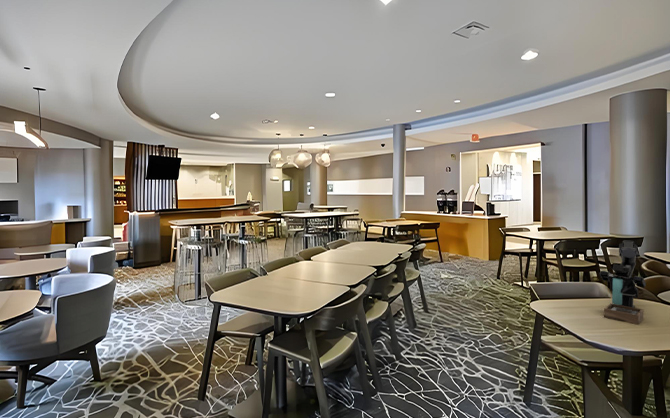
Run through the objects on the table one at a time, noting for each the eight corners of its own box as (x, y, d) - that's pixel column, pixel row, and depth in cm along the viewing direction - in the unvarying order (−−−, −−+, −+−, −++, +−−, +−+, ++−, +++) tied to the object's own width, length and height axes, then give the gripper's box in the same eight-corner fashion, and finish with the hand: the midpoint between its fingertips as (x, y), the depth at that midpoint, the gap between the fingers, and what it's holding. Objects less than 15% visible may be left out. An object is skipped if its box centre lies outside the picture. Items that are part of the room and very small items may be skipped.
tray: (610, 311, 190) (610, 303, 190) (643, 318, 179) (643, 309, 179) (603, 317, 181) (604, 308, 181) (638, 324, 171) (638, 315, 170)
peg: (613, 301, 184) (614, 277, 184) (622, 303, 181) (623, 279, 181) (611, 303, 182) (611, 279, 181) (620, 305, 179) (621, 280, 178)
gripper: (601, 256, 191) (590, 278, 186) (644, 261, 174) (634, 286, 169) (607, 268, 195) (597, 290, 190) (650, 275, 179) (640, 299, 174)
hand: (616, 291), depth 181 cm, fingers closed on peg, 4 cm apart
